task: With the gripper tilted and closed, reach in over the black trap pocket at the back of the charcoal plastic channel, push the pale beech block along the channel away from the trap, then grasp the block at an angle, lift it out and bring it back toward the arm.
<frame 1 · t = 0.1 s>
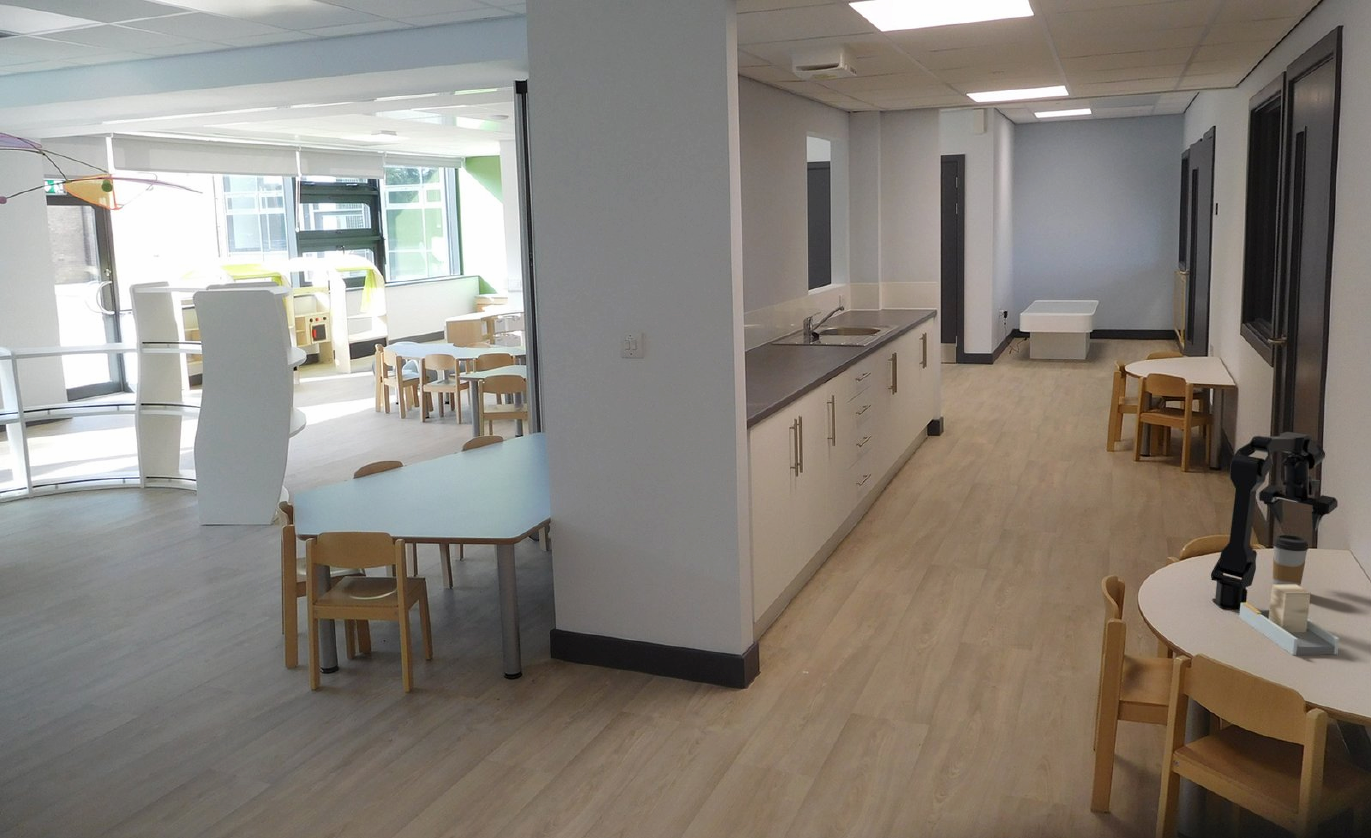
hand: (1297, 526, 305), 15 cm above the table, tool pointing down, fingers open, 9 cm apart
beech block: (1286, 627, 267), point 2 cm above the table, touching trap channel
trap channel: (1286, 635, 267), on the table
coffee cup: (1285, 592, 298), on the table
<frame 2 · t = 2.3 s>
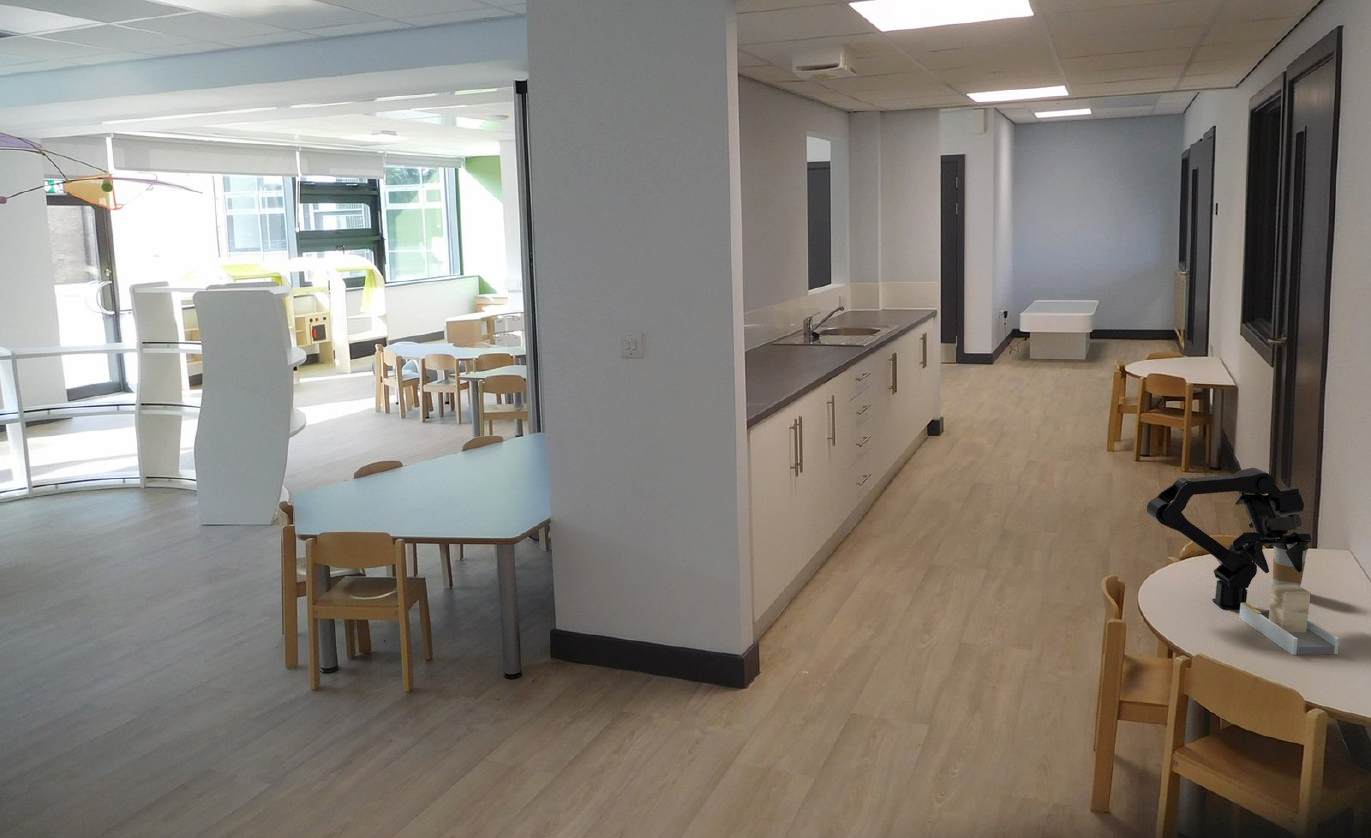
hand: (1284, 572, 273), 13 cm above the table, tool tilted 40°, fingers open, 9 cm apart
nothing on the table moved.
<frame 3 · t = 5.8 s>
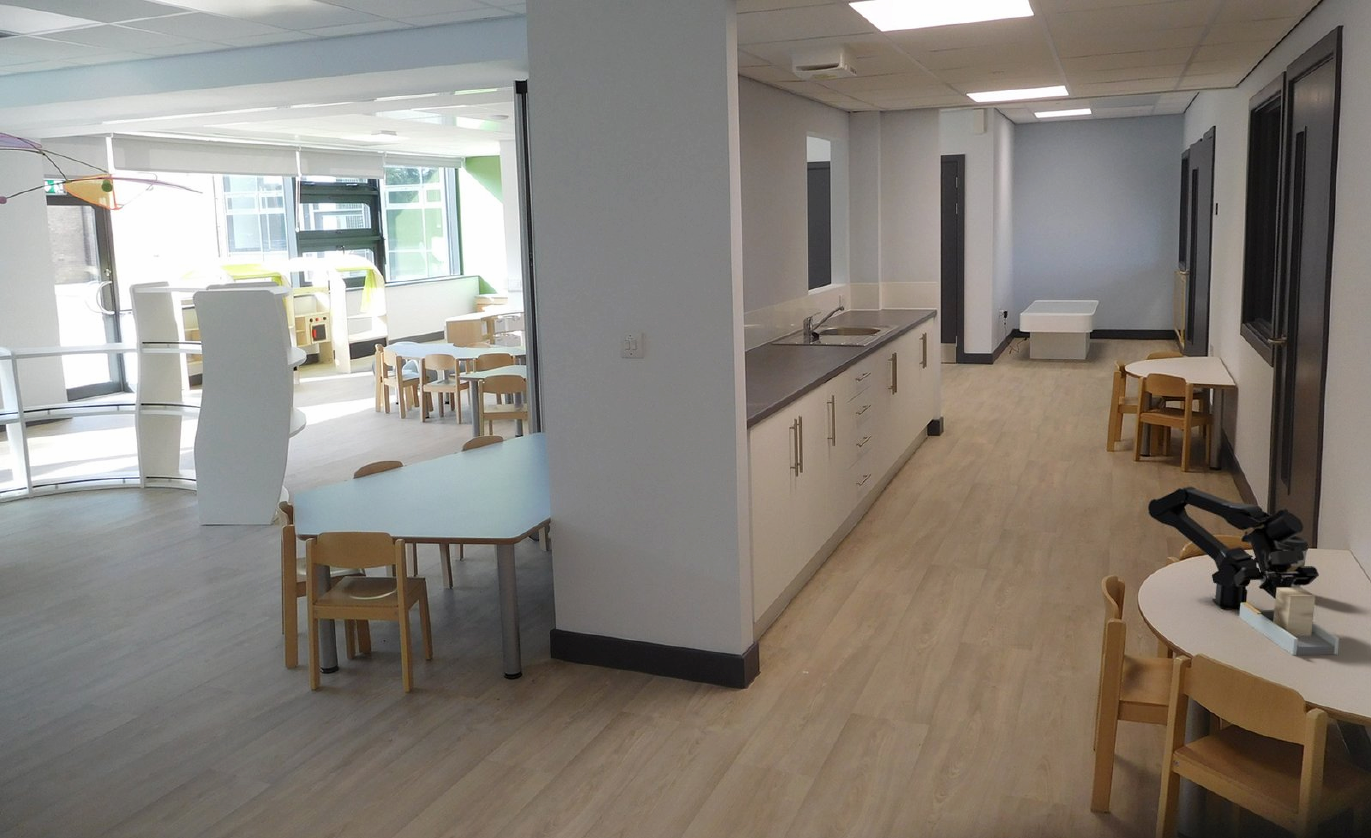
hand: (1287, 607, 267), 7 cm above the table, tool tilted 45°, fingers closed
beech block: (1291, 630, 264), point 2 cm above the table, touching gripper
everything else where it was.
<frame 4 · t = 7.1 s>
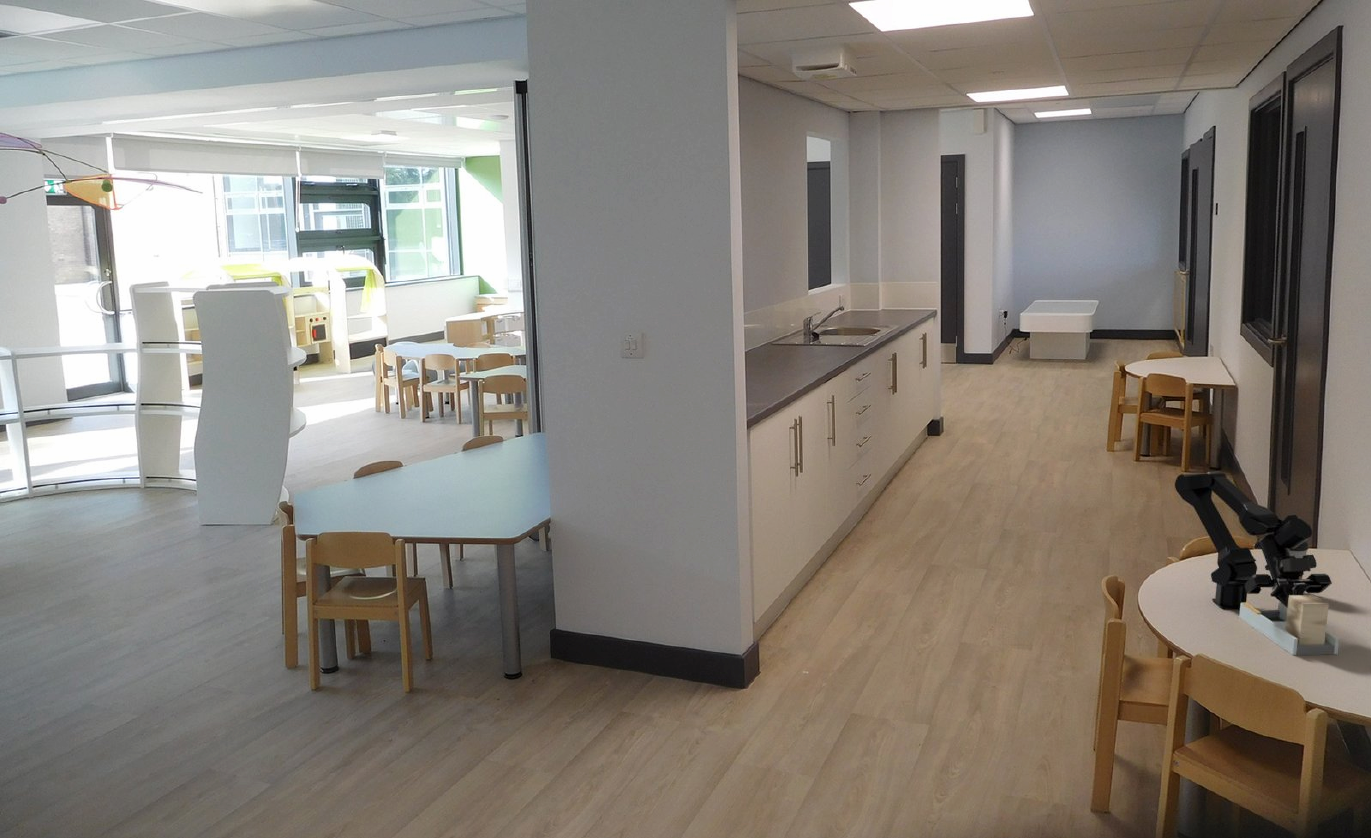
hand: (1299, 616, 261), 7 cm above the table, tool tilted 45°, fingers closed, pressing on beech block
beech block: (1304, 639, 259), point 2 cm above the table, touching gripper, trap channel
everything else where it was.
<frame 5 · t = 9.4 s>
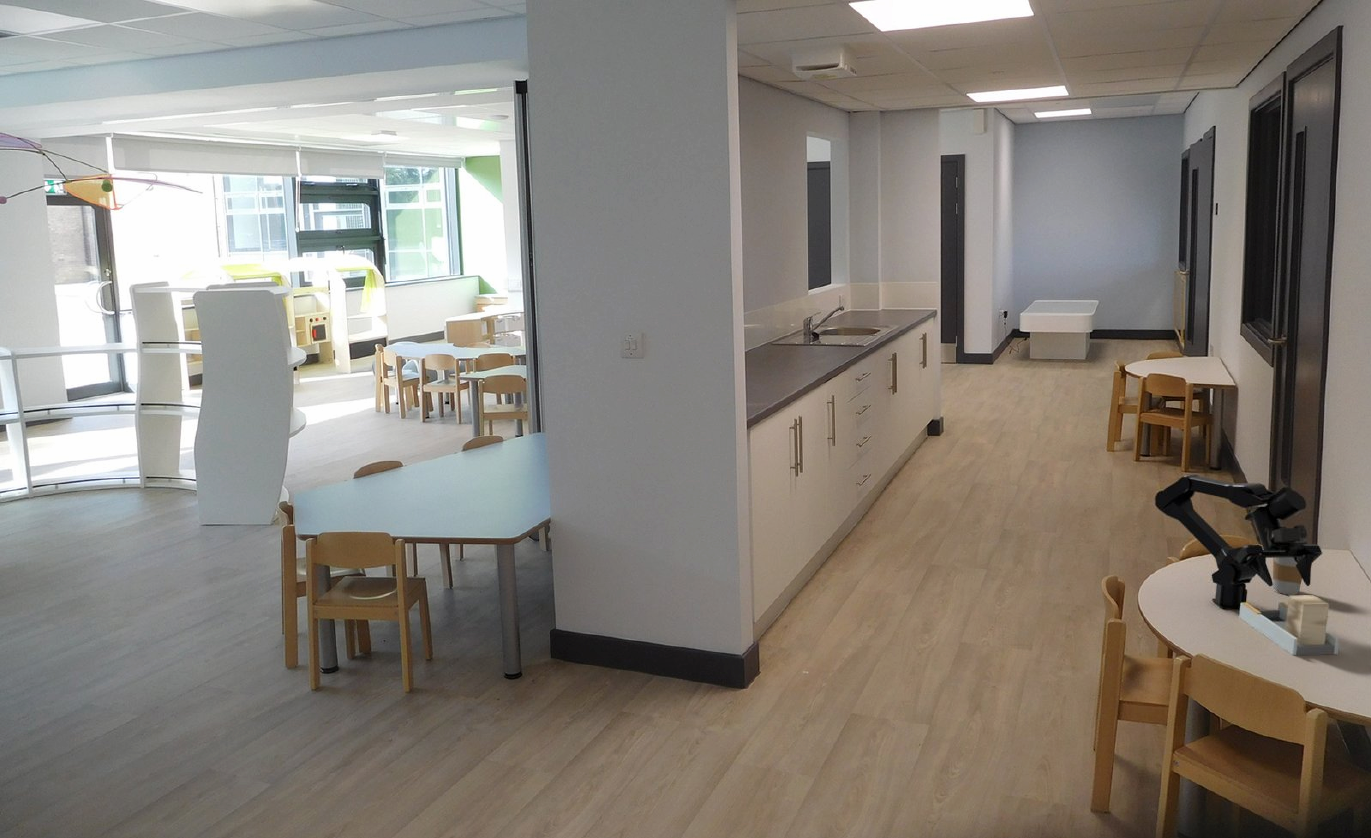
hand: (1290, 585, 265), 13 cm above the table, tool tilted 45°, fingers open, 9 cm apart
beech block: (1304, 639, 259), point 2 cm above the table, touching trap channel
everything else where it was.
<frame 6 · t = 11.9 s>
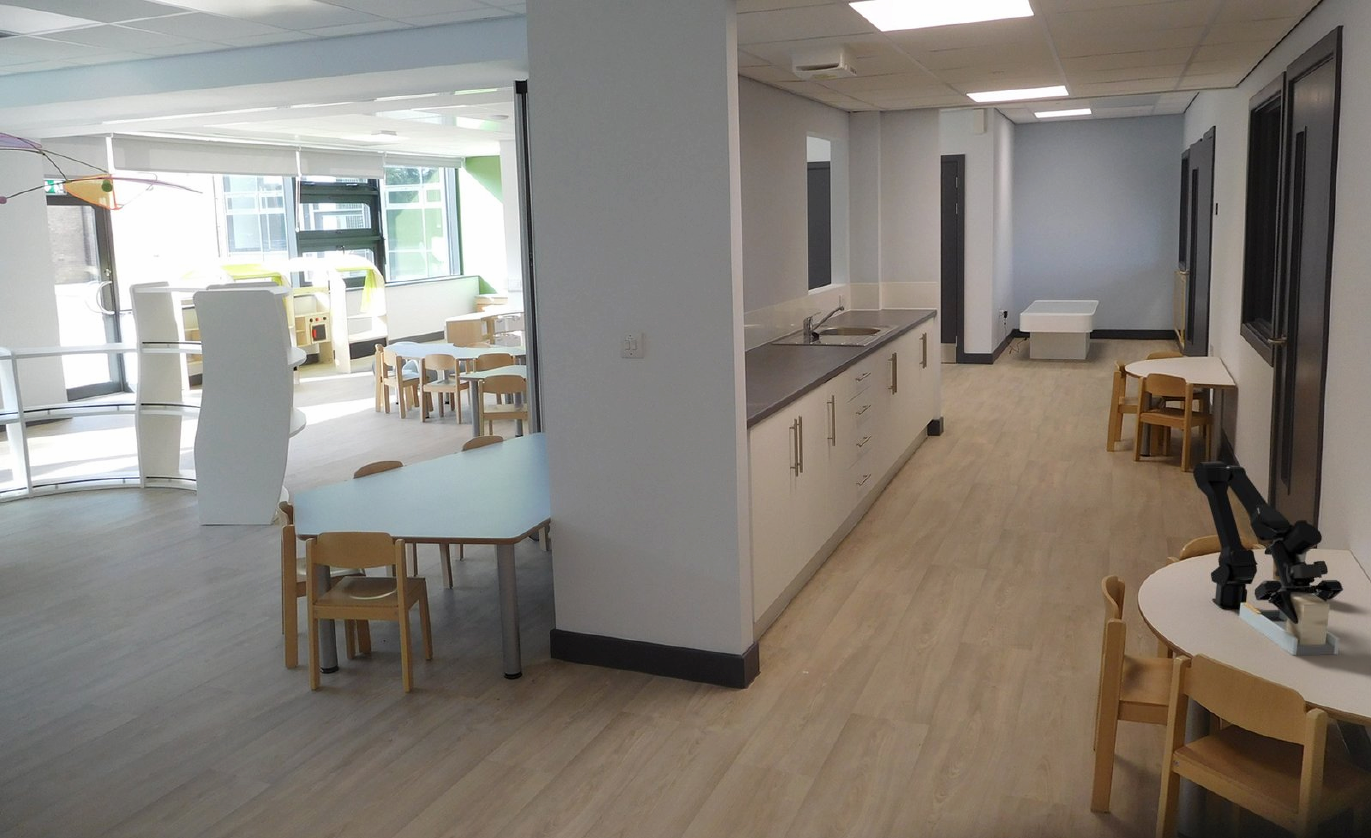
hand: (1310, 623, 257), 7 cm above the table, tool tilted 45°, fingers closed on beech block, 6 cm apart
beech block: (1305, 639, 259), point 2 cm above the table, touching gripper, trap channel
everything else where it was.
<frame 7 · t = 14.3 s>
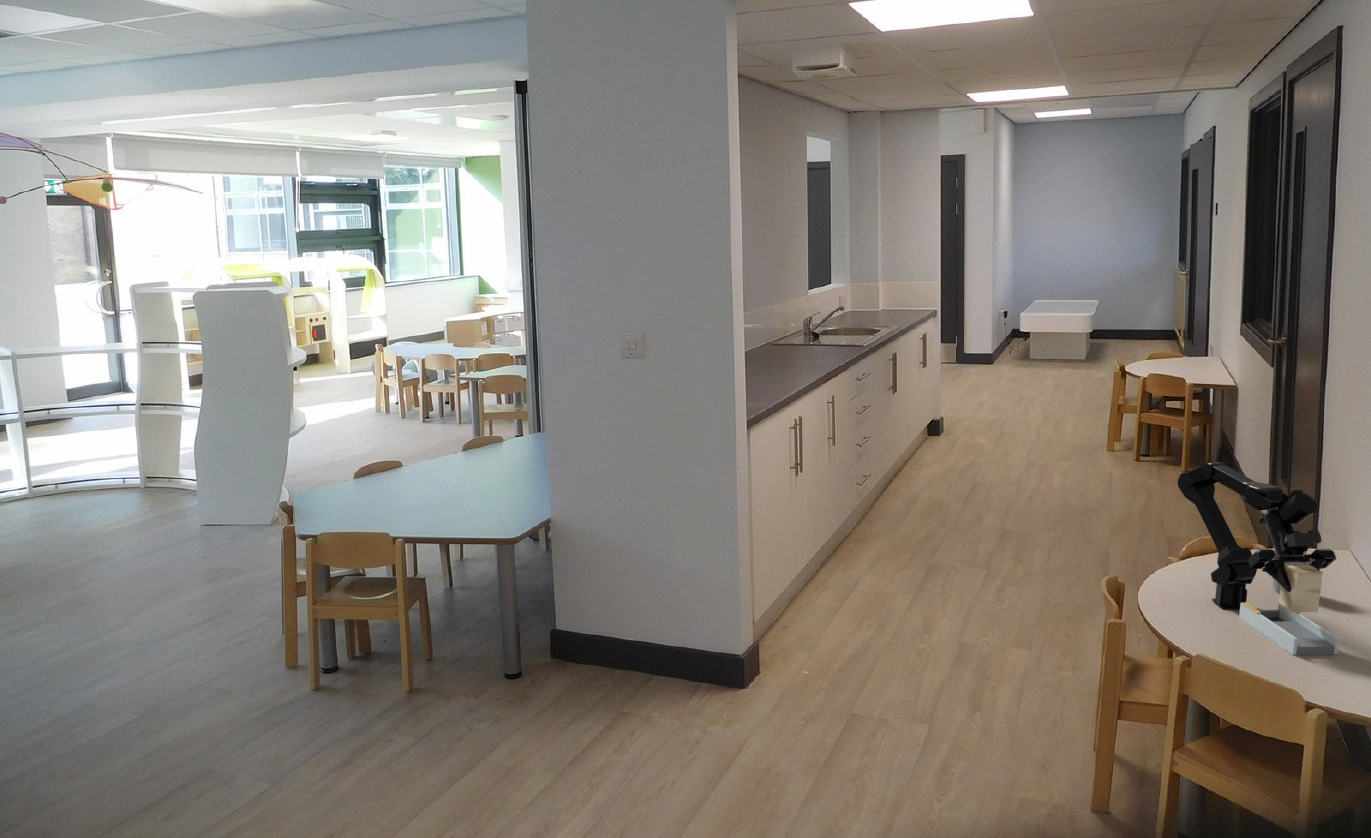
hand: (1302, 591, 260), 13 cm above the table, tool tilted 45°, fingers closed on beech block, 6 cm apart
beech block: (1298, 607, 262), point 9 cm above the table, touching gripper
everything else where it was.
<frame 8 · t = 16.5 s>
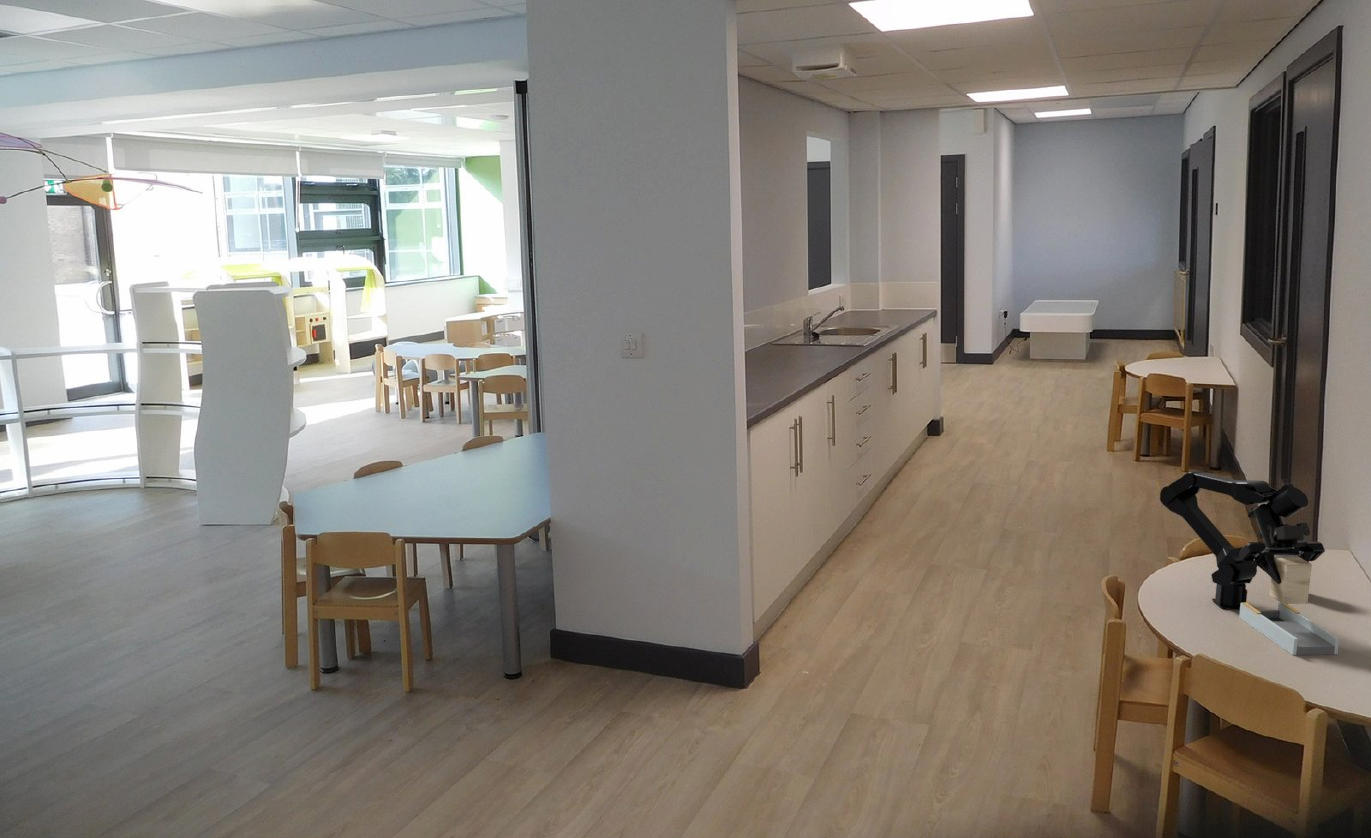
hand: (1292, 583, 264), 14 cm above the table, tool tilted 45°, fingers closed on beech block, 6 cm apart
beech block: (1288, 599, 266), point 9 cm above the table, touching gripper
everything else where it was.
at the end: the gripper is holding beech block; beech block point 9.0 cm above the table; beech block touching gripper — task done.
